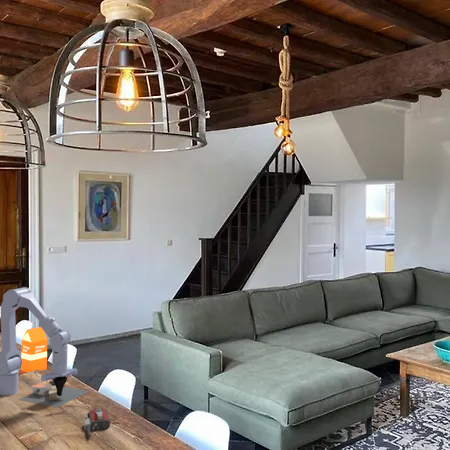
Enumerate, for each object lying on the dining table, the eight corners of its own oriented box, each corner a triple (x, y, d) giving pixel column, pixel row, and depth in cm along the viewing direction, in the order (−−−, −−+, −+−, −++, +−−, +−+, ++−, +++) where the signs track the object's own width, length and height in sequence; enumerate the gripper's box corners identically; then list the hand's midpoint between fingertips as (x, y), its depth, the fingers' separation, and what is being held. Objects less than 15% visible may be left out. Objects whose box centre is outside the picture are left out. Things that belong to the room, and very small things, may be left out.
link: (49, 389, 210) (49, 380, 210) (56, 388, 211) (56, 380, 211) (48, 400, 197) (49, 391, 197) (56, 399, 198) (57, 391, 198)
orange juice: (20, 370, 239) (21, 328, 239) (37, 366, 246) (37, 325, 246) (30, 373, 235) (31, 330, 235) (47, 369, 242) (47, 327, 242)
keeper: (36, 391, 207) (37, 383, 207) (52, 393, 206) (52, 384, 206) (31, 395, 203) (31, 386, 203) (46, 396, 202) (47, 387, 202)
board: (18, 402, 198) (18, 399, 198) (53, 387, 217) (53, 384, 216) (57, 409, 191) (57, 407, 191) (89, 393, 210) (89, 391, 210)
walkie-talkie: (81, 418, 185) (86, 440, 166) (82, 406, 184) (86, 427, 166) (106, 415, 188) (113, 437, 169) (106, 403, 187) (113, 424, 169)
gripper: (46, 367, 193) (46, 402, 193) (81, 360, 203) (80, 393, 203) (38, 363, 198) (38, 397, 198) (72, 356, 208) (72, 389, 208)
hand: (59, 395), depth 201 cm, fingers closed, pressing on link
